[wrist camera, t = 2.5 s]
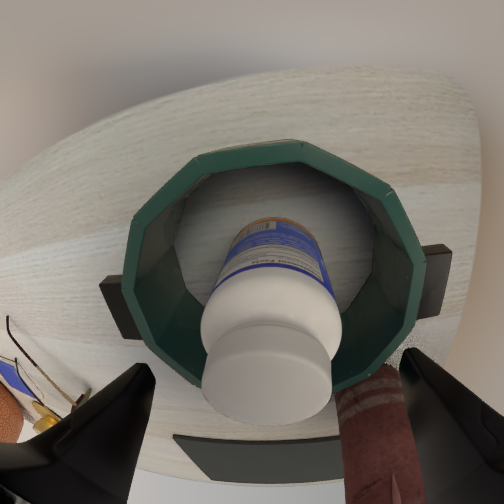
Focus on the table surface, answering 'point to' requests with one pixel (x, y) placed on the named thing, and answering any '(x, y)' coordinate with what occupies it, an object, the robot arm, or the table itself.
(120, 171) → the table surface
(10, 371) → the hard drive
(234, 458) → the mat
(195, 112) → the table surface
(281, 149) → the pot
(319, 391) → the pill bottle
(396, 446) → the can
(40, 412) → the cup
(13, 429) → the planter
